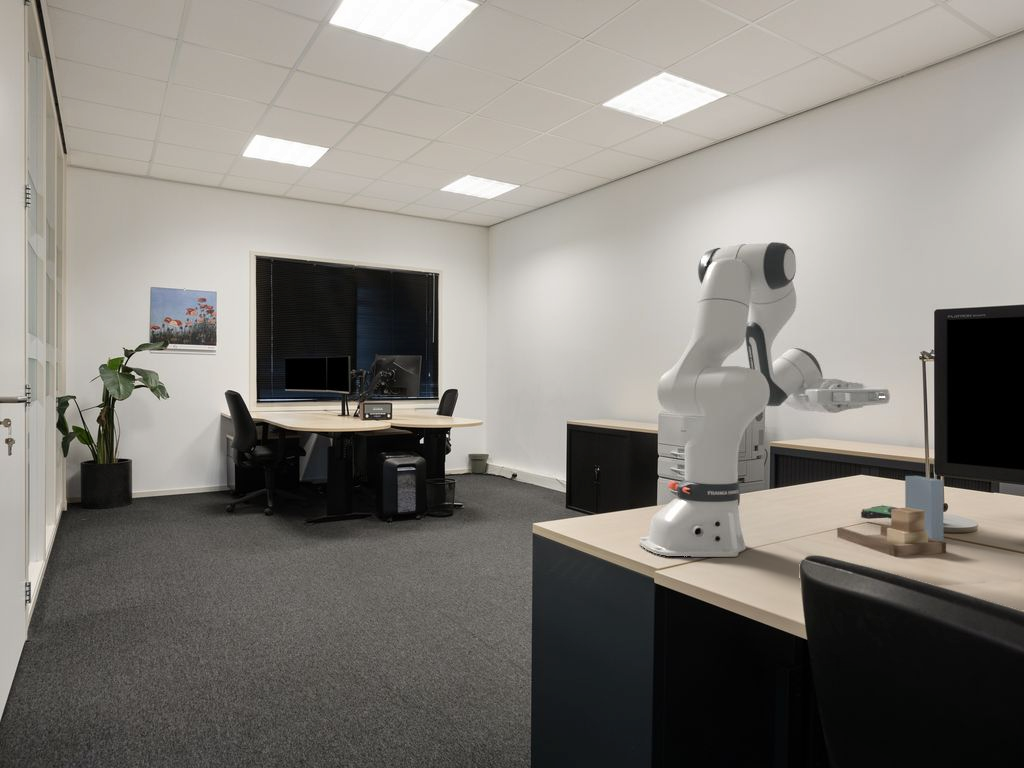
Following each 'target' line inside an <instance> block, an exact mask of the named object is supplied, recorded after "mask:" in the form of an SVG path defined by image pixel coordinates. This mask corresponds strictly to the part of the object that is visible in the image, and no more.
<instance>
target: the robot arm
mask: <svg viewBox="0 0 1024 768" xmlns="http://www.w3.org/2000/svg"><path fill="white" fill-rule="evenodd" d="M796 260H797V259H796V255H795V252H794V250H793V248H791V247H790V246H789V245H788V244H787V243H784V242H779V241H778V242H775V241H773V242H769V243H749V244H746V243H741V244H736V245H735V244H734V245H730V246H726V247H717V248H713V249H710V250H708V251H706V252H705V253H704V254H703V256H701V259H700V260H699V263H698V267H697V272H698V273H697V274H698V279H699V282H700V284H701V287H700V290H699V295H698V299H697V306H696V312H695V316H694V317H695V318H694V321H693V328H692V333H691V335H690V338H689V342H688V344H687V346H686V348H685V350H684V351H683V353H682V354H681V356H680V357H679V359H678V360H677V362H676V363H675V364H674V365H673V366H672V367H671V368H670V369H669V370H667V371H665V373H664V374H662V375H661V377H660V379H659V381H658V383H657V387H656V388H657V389H656V395H657V398H658V402H659V404H660V406H661V407H662V408H663V409H664V410H665V411H667V412H670V413H673V414H677V415H680V416H683V417H684V416H685V417H703V418H704V424H703V426H702V429H701V431H700V432H699V433H698V434H697V435H694V436H692V437H691V438H690V439H689V440H688V441H687V442H686V443H685V446H684V479H683V480H681V482H680V483H679V482H677V481H674V480H671V481H669V483H668V486H667V487H668V489H669V490H670V491H673V492H676V497H675V498H674V499H672V501H670V502H669V503H667V504H666V505H665V506H664V507H663V508H661V509H660V510H658V511H657V512H656V513H655V514H653V516H652V517H651V522H650V524H649V525H650V526H649V533H648V535H647V536H646V535H645V536H641V537H640V538H639V539H638V543H639V542H640V544H641V545H643V546H644V547H646V548H647V549H649V550H651V551H653V552H656V553H658V554H662V555H666V556H684V557H683V558H685V556H686V557H687V556H691V557H690V558H692V557H693V558H699V557H700V558H701V557H702V558H703V557H704V558H706V557H710V558H711V557H712V558H715V557H719V558H723V557H724V558H725V557H726V558H727V557H728V558H729V557H731V558H732V557H738V555H739V553H741V552H743V551H745V550H746V548H747V545H746V542H745V539H744V536H743V531H742V526H741V519H740V510H739V508H740V507H739V506H740V500H741V488H740V487H741V486H740V481H738V479H739V478H738V474H739V473H738V471H739V469H738V468H739V467H738V466H739V462H738V461H739V451H740V450H739V449H740V443H741V440H742V438H743V435H744V433H745V431H746V429H747V427H748V426H749V424H750V423H751V422H752V421H753V420H754V419H755V418H756V417H758V416H759V415H760V414H761V413H762V412H763V411H764V410H765V409H766V407H779V406H781V405H782V404H783V403H785V404H786V405H787V406H788V407H790V408H792V409H795V410H798V411H803V412H819V413H828V414H829V413H830V414H836V413H837V414H838V413H841V412H844V411H847V410H853V409H862V408H863V407H864V406H865V407H867V406H877V405H885V404H886V405H887V404H888V403H889V402H890V395H891V394H890V391H889V389H888V388H886V387H878V386H870V385H864V384H863V383H860V382H851V381H850V382H849V381H846V380H841V379H839V378H823V372H822V368H821V365H820V362H819V361H818V360H817V358H816V357H815V355H813V353H811V352H810V351H807V350H805V349H802V348H798V347H792V348H788V349H787V350H786V351H785V352H783V354H781V355H780V356H779V357H777V358H776V359H775V360H774V361H773V358H772V345H773V343H774V341H775V339H776V338H777V336H778V334H779V333H780V332H781V330H782V329H783V328H784V326H785V325H786V324H787V323H788V321H789V320H790V319H791V318H792V316H793V315H794V314H795V311H796V308H797V293H796V289H795V286H794V282H793V280H794V279H795V276H796V271H797V270H796V269H797V261H796ZM744 342H745V344H746V345H745V346H746V353H747V358H748V364H749V366H748V367H749V368H748V367H743V366H737V365H732V366H730V365H729V366H727V365H726V366H725V365H724V366H722V365H723V363H724V361H726V360H727V358H728V357H729V356H730V355H732V354H733V353H735V352H737V351H738V350H739V349H740V348H741V347H742V346H743V345H744ZM687 558H688V557H687Z"/></svg>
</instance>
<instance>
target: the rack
mask: <svg viewBox="0 0 1024 768" xmlns="http://www.w3.org/2000/svg"><path fill="white" fill-rule="evenodd" d="M887 528H891V526H889V525H886V524H885V525H884V524H882V525H880V534H862V533H859V532H856V531H854V530H851V529H846V528H843V527H837V530H836V531H837V532H836V533H837V534H836V536H837V539H838V538H839V539H842V540H845V541H848V542H851V543H853V544H856V545H858V546H859V545H860V546H862V547H865V548H868V549H871V550H874V551H877V552H880V553H883V554H885V555H888V556H892V557H907V556H908V557H909V556H920V555H921V556H922V555H923V556H924V555H938V554H939V555H940V554H947V543H946V542H945V541H938V540H934V539H931V538H928V542H927V543H911V544H891V543H888V542H887Z"/></svg>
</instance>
